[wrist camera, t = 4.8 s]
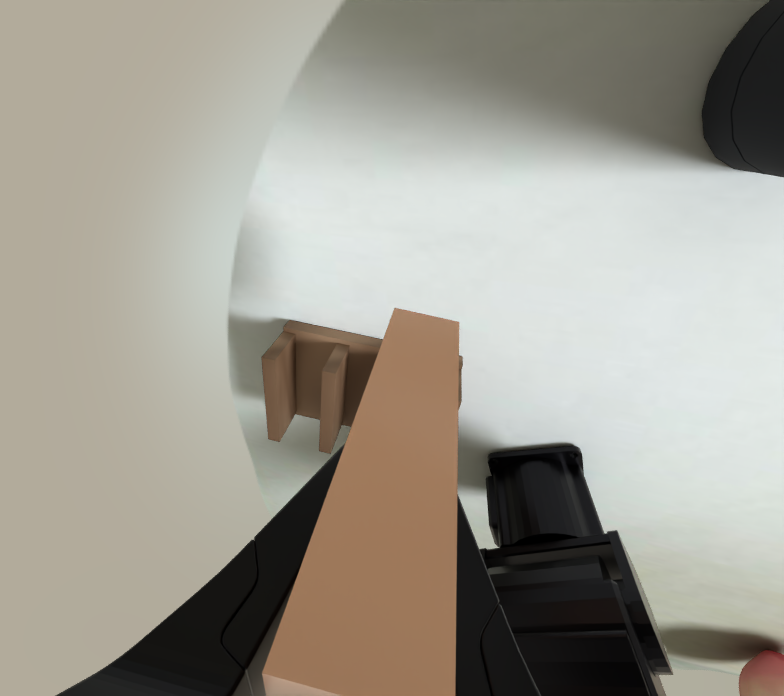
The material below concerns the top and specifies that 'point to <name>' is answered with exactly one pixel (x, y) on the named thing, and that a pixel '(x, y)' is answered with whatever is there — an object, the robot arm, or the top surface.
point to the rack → (318, 378)
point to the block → (384, 536)
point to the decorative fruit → (763, 675)
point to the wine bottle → (750, 96)
